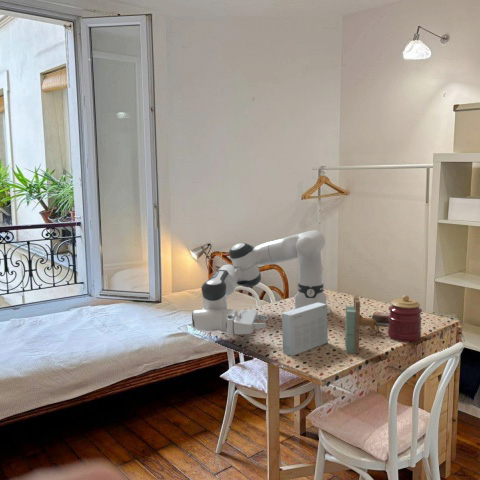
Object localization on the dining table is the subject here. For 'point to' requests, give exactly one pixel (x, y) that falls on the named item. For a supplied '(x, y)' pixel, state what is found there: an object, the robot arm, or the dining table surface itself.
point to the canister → (405, 320)
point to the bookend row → (352, 327)
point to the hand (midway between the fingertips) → (266, 321)
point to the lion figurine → (369, 324)
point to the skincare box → (304, 328)
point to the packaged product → (381, 318)
